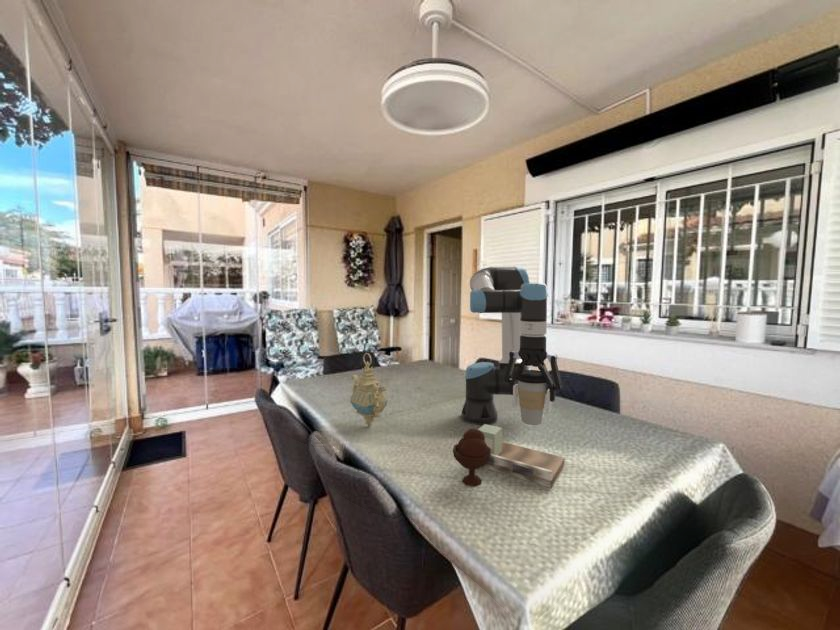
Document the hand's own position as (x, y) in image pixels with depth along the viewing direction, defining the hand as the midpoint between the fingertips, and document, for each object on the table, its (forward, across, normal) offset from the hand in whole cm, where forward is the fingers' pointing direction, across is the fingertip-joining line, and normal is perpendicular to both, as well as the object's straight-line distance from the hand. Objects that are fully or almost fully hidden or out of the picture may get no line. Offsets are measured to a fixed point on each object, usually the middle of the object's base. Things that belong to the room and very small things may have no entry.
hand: (531, 408), depth 108 cm
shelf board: (+19, -4, +1) cm, 19 cm away
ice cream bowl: (+19, -12, -16) cm, 28 cm away
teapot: (+19, -64, -3) cm, 67 cm away
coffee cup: (+4, 0, 0) cm, 4 cm away
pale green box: (+17, -13, -1) cm, 21 cm away
